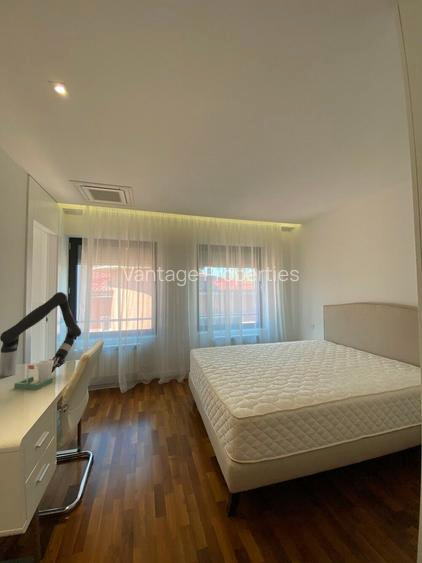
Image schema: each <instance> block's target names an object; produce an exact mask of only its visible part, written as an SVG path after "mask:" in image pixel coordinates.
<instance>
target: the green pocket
mask: <svg viewBox="0 0 422 563" xmlns="http://www.w3.org/2000/svg"><path fill="white" fill-rule="evenodd" d="M34 369H35V365H34V364H33V365H31V364H27V368H26V378H25V379H22V380H19V381H17V382H15V383H14V384H13V385H14V389H21V390H34V391H38V390H40V389H43V388H44V387H46V386H48V385H50V384H52V383H54V377H50V378H49V379H47V380H45V381H43V382H38V383H33V382H34V377H35V376H29V373H30V372H29V371H30V370H34Z"/></svg>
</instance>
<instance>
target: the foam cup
mask: <svg viewBox="0 0 422 563" xmlns="http://www.w3.org/2000/svg"><path fill="white" fill-rule="evenodd" d="M53 363H54V360H49V359H45V360H44V359H43V360H40V361H37V365H36V367H37V375H38V376H37V377H38V383H41V382H43V381H45V380H47V379H49V378H52V373H53V372H52V367H53ZM51 372H52V373H51Z"/></svg>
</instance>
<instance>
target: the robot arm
mask: <svg viewBox="0 0 422 563" xmlns="http://www.w3.org/2000/svg"><path fill="white" fill-rule="evenodd" d="M68 300H69V299H68V295H67V293H66V292H63V291H60V292H59V291H58V292H56V293H55V294H54V295H53V296H52V297H51V298H50V299H48V300H47V301H46V302H45V303H43V304H41V305H39V306H38V307H36V308H35V309H33V310H32V311H30V312H29V313H28V314H27V315H25V316H23V318H22V319H21V320H19V322H17V323H16V324H15V325H12V327H9V328H8V329H7V330H5V331H3V332H2V333H0V342H2V346H1V348H0V377H9V376H13V375H15V374H16V372H17V360H18V347H19V342H20V340H19V339H20V335H21V334H23V333H24V332H25V331H26V330H29V329H30V328H32V327H34V326H35V325H36V324H38V323H39V322H40V321H42V320H43V319H45V317H47V316H48V315H49V314H50V313H51V312H52V311H53V310H54V309H56V308H57V307H59V308H60V311H61V315H62V318H63V321H64V323H65V326H66V328H69V329H70V330H68V331H67V333H66V335H65V338H64V341H63V342H62V344H61V345H60V346H59V348H58V349H57V351H56V352H55V354H54V357H52V358H50V359H48V360H54V363H53V367H52V372H51V374H52V373H54V372H55V370H56V369H57V368H60V367H62V366H63V365H65V363H66V362H67V361H66V358H67V356H68V354H69V353H70V351H71V349H72V347H73V345H74V343H75V339H74V338H78V337H80V336H81V334H82V330H81V328H80V327H79V325H78V324H77V323H76V320H75V318H74V315H73V313H72V311H71V308H70V305H69V301H68Z"/></svg>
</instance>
